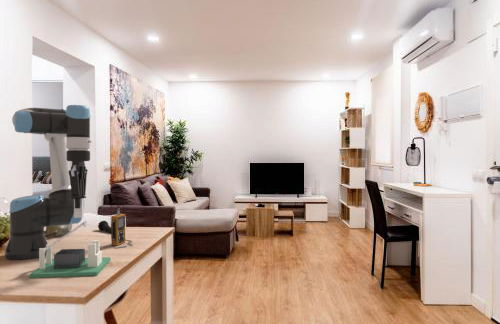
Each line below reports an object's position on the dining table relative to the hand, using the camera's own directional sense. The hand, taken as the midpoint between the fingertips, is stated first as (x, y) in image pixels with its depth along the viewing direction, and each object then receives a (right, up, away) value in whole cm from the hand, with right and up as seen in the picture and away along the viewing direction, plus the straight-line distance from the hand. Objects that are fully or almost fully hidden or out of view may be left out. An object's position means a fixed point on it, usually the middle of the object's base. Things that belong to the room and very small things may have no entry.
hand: (78, 217), depth 132 cm
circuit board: (-2, -18, 0) cm, 18 cm away
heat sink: (-3, -17, 0) cm, 17 cm away
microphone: (-14, -17, +62) cm, 66 cm away
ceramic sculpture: (-35, -17, +52) cm, 64 cm away
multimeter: (+5, -18, +36) cm, 40 cm away
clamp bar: (-4, -8, 0) cm, 9 cm away
